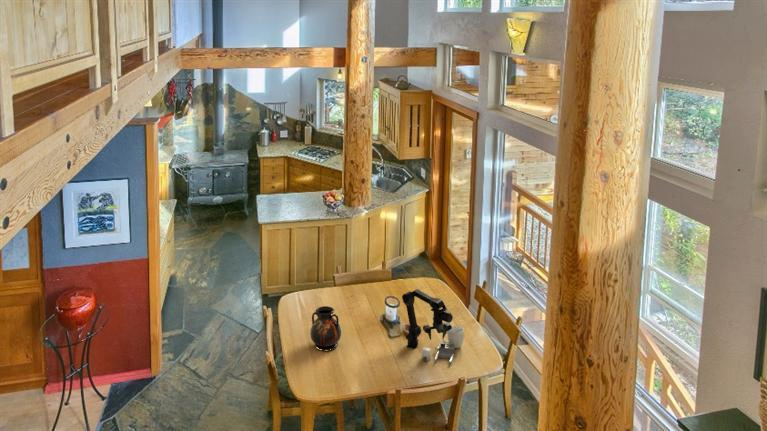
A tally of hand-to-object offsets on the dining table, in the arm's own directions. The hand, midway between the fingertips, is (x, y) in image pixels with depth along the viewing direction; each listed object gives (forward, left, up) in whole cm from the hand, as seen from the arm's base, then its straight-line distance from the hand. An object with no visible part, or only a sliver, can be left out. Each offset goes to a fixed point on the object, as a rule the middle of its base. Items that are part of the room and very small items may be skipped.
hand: (436, 338), depth 435 cm
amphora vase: (-77, -7, -13) cm, 78 cm away
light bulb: (-6, -7, -13) cm, 16 cm away
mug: (+9, +16, -13) cm, 22 cm away
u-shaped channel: (+5, -2, -13) cm, 14 cm away
